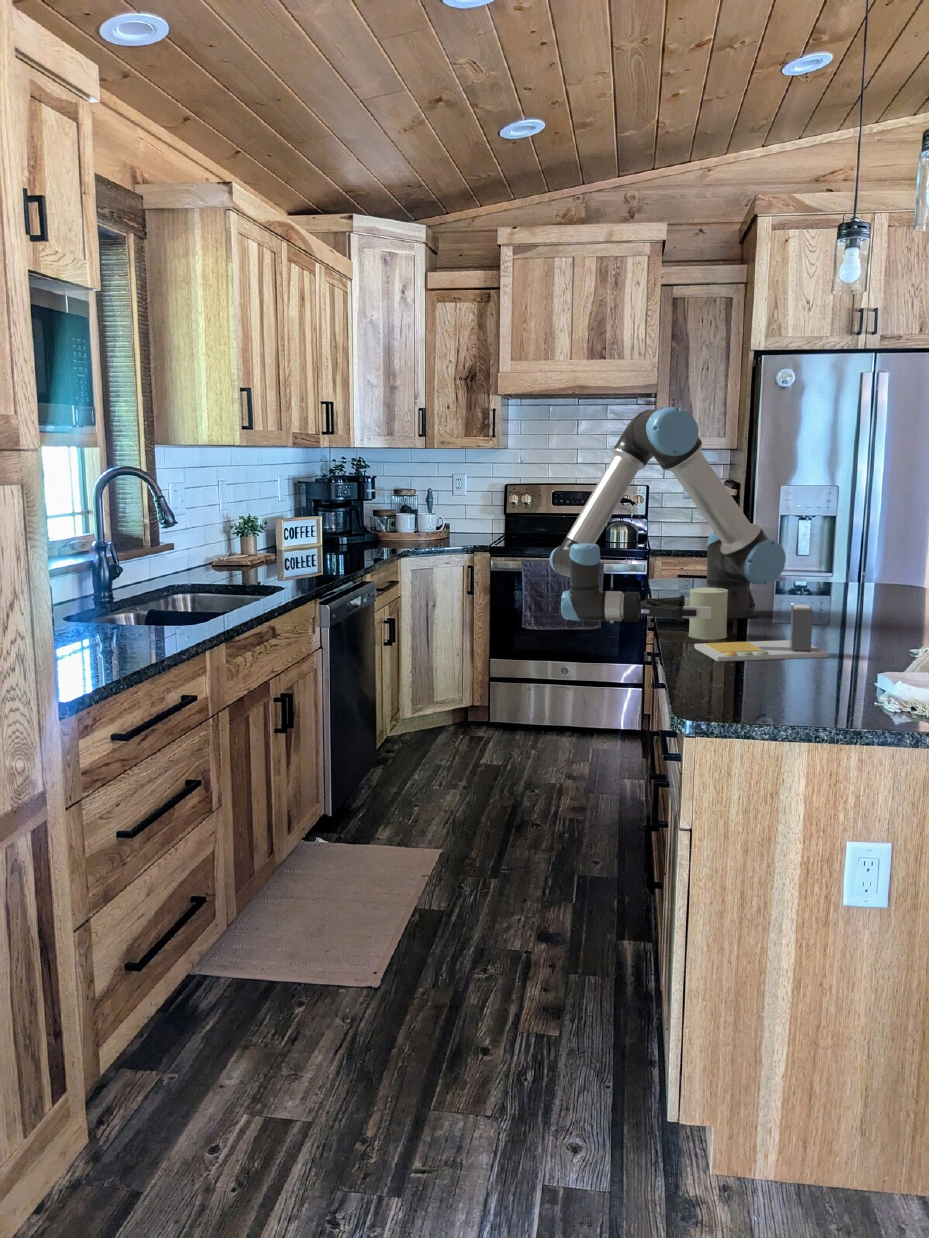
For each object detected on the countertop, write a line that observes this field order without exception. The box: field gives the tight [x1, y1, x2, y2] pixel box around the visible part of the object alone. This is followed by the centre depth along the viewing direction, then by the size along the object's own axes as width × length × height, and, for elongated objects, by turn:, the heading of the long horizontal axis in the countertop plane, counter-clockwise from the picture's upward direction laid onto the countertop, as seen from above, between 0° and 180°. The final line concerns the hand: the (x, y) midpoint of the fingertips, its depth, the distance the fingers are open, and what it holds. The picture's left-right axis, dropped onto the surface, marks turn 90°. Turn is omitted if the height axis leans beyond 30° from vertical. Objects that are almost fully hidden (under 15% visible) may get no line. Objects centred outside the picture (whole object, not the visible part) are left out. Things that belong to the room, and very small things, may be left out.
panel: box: [694, 639, 830, 662], centre depth 213 cm, size 25×15×1 cm, turn 96°
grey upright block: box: [789, 604, 814, 651], centre depth 209 cm, size 4×5×9 cm
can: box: [688, 587, 728, 641], centre depth 232 cm, size 9×9×12 cm
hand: (711, 608), depth 231 cm, fingers open, 13 cm apart
